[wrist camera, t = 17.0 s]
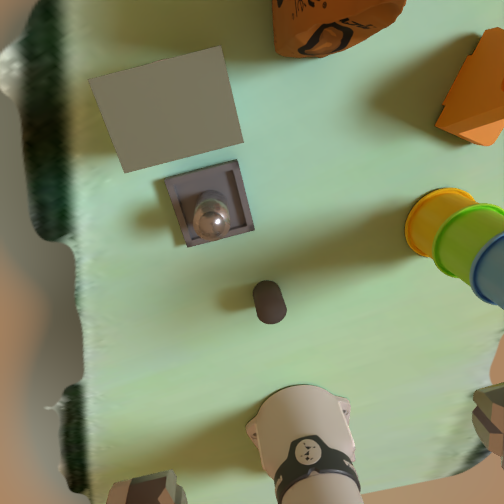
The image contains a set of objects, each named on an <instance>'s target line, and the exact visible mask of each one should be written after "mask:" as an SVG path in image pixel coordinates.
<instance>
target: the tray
mask: <svg viewBox="0 0 504 504" xmlns="http://www.w3.org/2000/svg"><path fill="white" fill-rule="evenodd" d="M164 181H165V184H166V187H167V190H168V193H169V196H170V198H171V201H172V204H173V207H174V210H175V213H176V216H177V219H178V222H179V225H180V227H181V230H182V233H183V236H184V239H185V242H186V245H187V248H188V247H192V246H196V245H200V244H203V243H207V242H211V241H208V240H204V239H202V238H201V237H199V236H198V235H197V233H196V232H195V230H194V227H193V219H194V212H195V206H196V201H197V198H198V197H199V195H200V194H201V193H203V192H204V191H207V190H216V191H219V192H220V193H222V194H223V195H224V196H225V198H226V200H227V203H228V210H229V217H230V229H229V231H228V233H227V234H226V235H225V236H224V237H223V238H227V237H230V236H234V235H238V234H242V233H246V232H250V231H254V230H255V229H254V225H253V220H252V216H251V212H250V208H249V204H248V200H247V196H246V192H245V188H244V184H243V180H242V176H241V172H240V168H239V164H238V160H237V159H236V160H232V161H228V162H224V163H220V164H217V165H213V166H209V167H205V168H201V169H197V170H193V171H190V172H186V173H182V174H178V175H174V176H170V177H166V178H165V180H164ZM223 238H221V239H223Z"/></svg>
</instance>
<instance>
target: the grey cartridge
mask: <svg viewBox="0 0 504 504" xmlns="http://www.w3.org/2000/svg"><path fill="white" fill-rule="evenodd" d="M193 227H194V230H195V232H196V233H197V235H198V236H199V237H201V238H202V239H204V240H208V241H216V240H219V239H221V238H223V237H224V236H225V235H226V234H227V233H228V231H229V229H230V217H229V210H228V203H227V200H226V198H225V196H224V195H223V194H222V193H220V192H219V191H216V190H207V191H204V192H203V193H201V194H200V195H199V197H198V198H197V201H196V206H195V212H194V219H193Z"/></svg>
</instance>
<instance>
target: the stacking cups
mask: <svg viewBox="0 0 504 504" xmlns="http://www.w3.org/2000/svg"><path fill="white" fill-rule="evenodd" d="M405 237H406V241H407V243H408V245H409V246H410V248H411V249H412V250H413V251H415V252H416V253H417V254H419V255H422V256H425V257H430V258H432V259H433V260H434V263H435V265H436V266H437V268H438V269H439V270H440V271H441V272H443V273H444V274H446V275H448V276H450V277H454V278H460V279H461V280H462V281H464V282H465V283H466V284H468V285H469V286H470V287H471V288H472V290H473V292H474V294H475V295H476V296H477V297H478V298H480V299H481V300H482V301H484V302H486V303H489V304H493V305H498V306H499V307H501V308H502V309H503V310H504V209H502V208H501V207H499V206H496V205H493V204H487V203H480V204H479V203H477V202H475V200H474V198H473V197H472V196H471V195H470V194H469V193H467V192H465V191H463V190H461V189H457V188H442V189H438V190H435V191H433V192H430V193H429V194H427V195H426V196H424V197H423V198H421V199H420V200H419V201H418V202H417V203H416V204H415V205H414V207H413V208H412V209H411V211H410V213H409V215H408V217H407V220H406V223H405Z"/></svg>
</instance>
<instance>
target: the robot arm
mask: <svg viewBox="0 0 504 504" xmlns="http://www.w3.org/2000/svg"><path fill="white" fill-rule="evenodd" d="M473 401H474V402H475V403H476V404H477V406H476V408H475V409H474V410H473V411H472V422H473V425H474V428H475V431H476V433H477V434H478V436H479V438H480V440H481V441H482V442H483V444H484V445H485V446H486V448H487V449H488V450H489V451H491V452H493V453H495V454H497V455H498V456H500V457H501V464H502V468H503V469H504V382H503V383H499V384H496V385H492V386H488V387H485V388H481V389H478V390H476V391H475V392H474V393H473ZM350 409H351V405H350V402H349V400H348V399H346V398H343V397H338V396H334V395H332V394H331V393H329V392H328V391H326V390H325V389H322V388H320V387H317V386H312V385H298V386H292V387H288V388H285V389H283V390H280V391H278V392H277V393H275V394H273V395H272V396H271V397H269V398H268V399H267V400H266V401H265V402H264V403H263V405H262V406H261V408H260V410H259V412H258V414H257V415H256V417H255V418H253V419H252V420H251V421H250V422H249V423H248V424H247V425H246V432H247V434H248V436H249V437H250V439H251V440H252V441H253V443H254V444H255V446H256V447H257V449H258V450H259V452H260V457H261V463H262V467H263V470H266V472H267V474H268V475H269V476H270V477H271V478H272V479H273V480H274V484H275V494H276V499H277V501H278V504H364V502H363V500H362V497H361V494H360V483H359V480H358V476H357V473H356V470H355V468H354V467H353V464H352V462H354V461H355V454H354V451H355V444H354V440H353V437H352V435H351V432H350V429H349V418H350ZM176 480H177V476H176V474H175V473H174V471H173V469H171V470H166V471H162V472H158V473H154V474H150V475H146V476H141V477H137V478H132V479H128V480H125V481H121V482H117V483H114V484H113V486H112V488H111V490H110V491H109V495H108V499H107V503H106V504H188V503H187V498H186V494H185V492H184V490H183V488H182V487H181V486H179V485H177V484H176Z"/></svg>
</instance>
